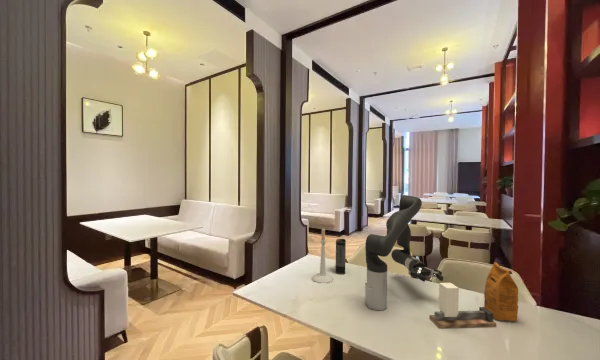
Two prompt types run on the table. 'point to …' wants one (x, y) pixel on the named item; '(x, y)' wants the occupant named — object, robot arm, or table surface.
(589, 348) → the table surface
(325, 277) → the candlestick
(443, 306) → the tall cream pillar
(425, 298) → the table surface
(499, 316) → the coffee package
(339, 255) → the electronic device
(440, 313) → the rail base
